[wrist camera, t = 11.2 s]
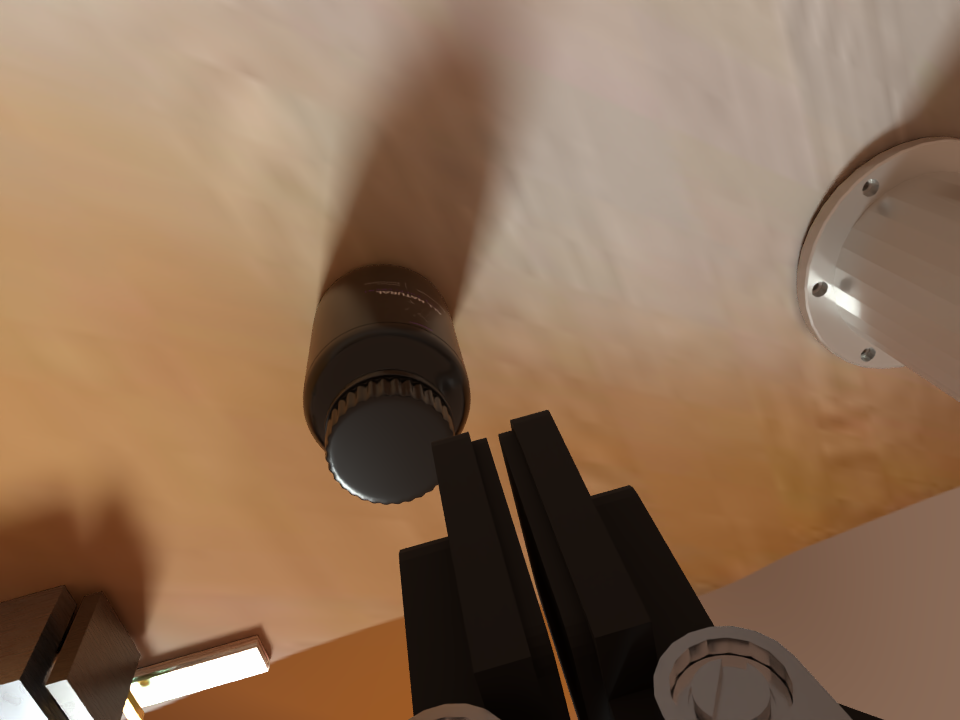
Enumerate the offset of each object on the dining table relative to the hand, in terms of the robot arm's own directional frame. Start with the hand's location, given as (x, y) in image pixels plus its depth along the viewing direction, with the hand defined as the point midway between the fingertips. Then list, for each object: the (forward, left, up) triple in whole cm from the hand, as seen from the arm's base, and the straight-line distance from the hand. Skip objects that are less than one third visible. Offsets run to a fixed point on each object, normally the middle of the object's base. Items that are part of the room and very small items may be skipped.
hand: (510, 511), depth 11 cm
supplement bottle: (+3, +8, -27) cm, 29 cm away
